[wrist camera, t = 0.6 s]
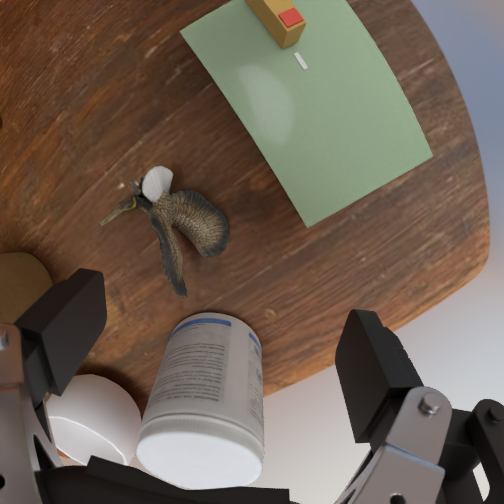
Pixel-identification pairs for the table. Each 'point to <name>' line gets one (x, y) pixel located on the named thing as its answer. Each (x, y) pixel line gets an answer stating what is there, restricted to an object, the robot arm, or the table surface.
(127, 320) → the table surface
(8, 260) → the plant pot
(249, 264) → the table surface
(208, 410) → the supplement tub
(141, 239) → the table surface
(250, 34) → the lock plate
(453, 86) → the table surface
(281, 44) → the thumbturn
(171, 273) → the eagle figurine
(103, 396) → the cup
